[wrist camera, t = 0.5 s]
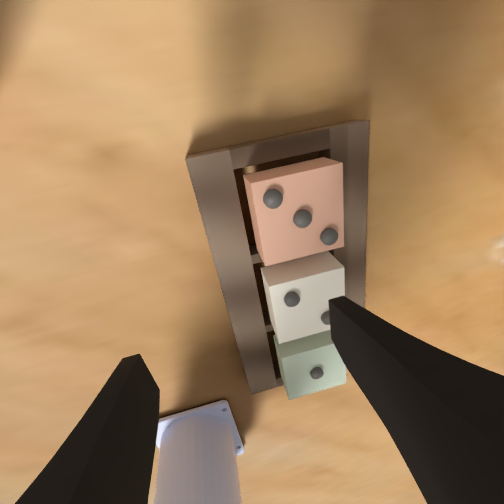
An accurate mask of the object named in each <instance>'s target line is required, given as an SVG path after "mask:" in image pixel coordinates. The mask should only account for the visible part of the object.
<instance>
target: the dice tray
mask: <svg viewBox="0 0 504 504" xmlns="http://www.w3.org/2000/svg"><path fill="white" fill-rule="evenodd" d="M316 151H320V158H322V157H325V158H328V159H331V160H335V161H338V162H342V163H343V210H344V247H340V248H336V249H332V250H328V251H329V252H330V253H331V254H332V255H333V256H334V257H335V258H336V259H337V260H338V261H339V262H340V263H341V264H342V265H343V266H344V274H345V297H347V298H348V299H350V300H352V301H353V302H355V303H357V304H358V305H360V306H361V307H363V308H364V299H365V263H366V226H367V190H368V154H369V120H353V121H348V122H344V123H339V124H334V125H329V126H325V127H320V128H315V129H310V130H306V131H301V132H296V133H291V134H287V135H282V136H277V137H272V138H268V139H263V140H258V141H254V142H249V143H244V144H239V145H235V146H230V147H225V148H220V149H216V150H211V151H206V152H201V153H197V154H192V155H187V156H186V158H185V160H186V164H187V167H188V171H189V174H190V178H191V181H192V185H193V189H194V192H195V196H196V199H197V203H198V206H199V210H200V214H201V217H202V221H203V224H204V228H205V231H206V235H207V239H208V242H209V246H210V249H211V253H212V256H213V260H214V263H215V267H216V271H217V274H218V278H219V281H220V285H221V288H222V292H223V296H224V299H225V303H226V306H227V310H228V313H229V317H230V320H231V324H232V328H233V331H234V335H235V338H236V342H237V345H238V349H239V353H240V356H241V360H242V363H243V367H244V370H245V374H246V378H247V381H248V385H249V388H250V392H251V394H255V393H258V392H261V391H265V390H268V389H272V388H275V387H278V386H282V385H284V383H283V380H282V378H281V374H280V368H279V363H276V364H273V363H272V358H271V353H270V348H269V343H268V338H267V333H266V332H270V331H274V329H273V326H272V324H271V321H270V315H269V311H267V312H264V313H262V309H261V304H260V299H259V294H258V289H257V284H256V279H255V274H254V269H253V265H252V264H255V263H259V262H263V261H262V259H261V256H260V254H259V252H258V250H257V246H256V244H252V245H248V240H247V235H246V230H245V225H244V220H243V215H242V210H241V206H240V201H239V196H238V191H237V186H236V181H235V176H234V171H233V170H234V169H238V168H243V167H247V166H252V165H256V164H261V163H266V162H270V161H275V160H279V159H284V158H288V157H293V156H298V155H302V154H307V153H311V152H316ZM325 252H326V251H325Z"/></svg>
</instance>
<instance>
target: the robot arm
mask: <svg viewBox="0 0 504 504" xmlns="http://www.w3.org/2000/svg"><path fill="white" fill-rule="evenodd" d="M328 302H329V316H330V329H331V339H332V341H333V343H334V345H335V347H336V349H337V351H338V353H339V355H340V357H341V359H342V361H343V363H344V364H345V366H346V367H347V369H348V370H349V372H350V373H351V375H352V377H353V378H354V380H355V381H356V383H357V384H358V386H359V387H360V389H361V390H362V392H363V393H364V395H365V396H366V398H367V399H368V401H369V402H370V404H371V405H372V407H373V408H374V410H375V411H376V413H377V414H378V416H379V417H380V419H381V420H382V422H383V423H384V425H385V427H386V428H387V430H388V432H389V433H390V435H391V437H392V439H393V440H394V442H395V444H396V446H397V448H398V450H399V451H400V453H401V455H402V457H403V459H404V460H405V462H406V464H407V466H408V468H409V470H410V472H411V473H412V475H413V477H414V479H415V481H416V483H417V485H418V487H419V489H420V490H421V492H422V494H423V496H424V498H425V500H426V502H427V504H504V376H503V375H500V374H497V373H495V372H492V371H490V370H487V369H484V368H482V367H479V366H477V365H474V364H472V363H469V362H467V361H465V360H463V359H460V358H458V357H456V356H453V355H451V354H449V353H447V352H444V351H442V350H440V349H438V348H436V347H434V346H432V345H430V344H428V343H426V342H424V341H422V340H420V339H418V338H416V337H414V336H412V335H410V334H408V333H406V332H404V331H402V330H401V329H399V328H397V327H395V326H393V325H392V324H390V323H388V322H386V321H385V320H383V319H381V318H380V317H378V316H376V315H375V314H373V313H371V312H370V311H368V310H366V309H365V308H363V307H361V306H360V305H358V304H357V303H355V302H353V301H352V300H350V299H348V298H347V297H345V296H340V297H336V298H333V299H329V300H328ZM159 399H160V390H159V388H158V386H157V384H156V382H155V381H154V379H153V377H152V375H151V373H150V371H149V370H148V368H147V366H146V364H145V362H144V361H143V359H142V357H141V355H140V354H136V355H133V356H129V357H126V358H123V359H122V360H121V362H120V363H119V364H118V366H117V367H116V369H115V370H114V372H113V373H112V375H111V376H110V378H109V379H108V381H107V382H106V384H105V385H104V387H103V388H102V390H101V391H100V393H99V394H98V395H97V397H96V398H95V400H94V401H93V403H92V404H91V406H90V407H89V408H88V410H87V411H86V413H85V414H84V416H83V417H82V419H81V420H80V421H79V423H78V424H77V425H76V427H75V428H74V429H73V431H72V432H71V433H70V435H69V436H68V438H67V439H66V440H65V442H64V443H63V444H62V446H61V447H60V448H59V450H58V451H57V452H56V454H55V455H54V456H53V458H52V459H51V460H50V461H49V463H48V464H47V465H46V467H45V468H44V469H43V470H42V472H41V473H40V474H39V475H38V477H37V478H36V479H35V480H34V481H33V483H32V484H31V485H30V486H29V487H28V489H27V490H26V491H25V492H24V493H23V495H22V496H21V497H20V498H19V499H18V501H17V502H16V503H15V504H148V495H149V488H150V481H151V474H152V467H153V460H154V453H155V446H156V445H157V447H158V448H159V450H160V451H159V460H158V470H157V479H156V488H155V498H154V504H242V500H241V492H240V484H239V476H238V468H237V460H236V456H237V455H240V454H243V453H244V446H243V444H242V441H241V438H240V435H239V432H238V429H237V427H236V424H235V421H234V418H233V415H232V412H231V410H230V407H229V404H228V402H227V401H226V400H221V401H218V402H214V403H211V404H207V405H204V406H201V407H197V408H194V409H190V410H187V411H184V412H180V413H177V414H173V415H170V416H167V417H163V418H160V419H159Z"/></svg>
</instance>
